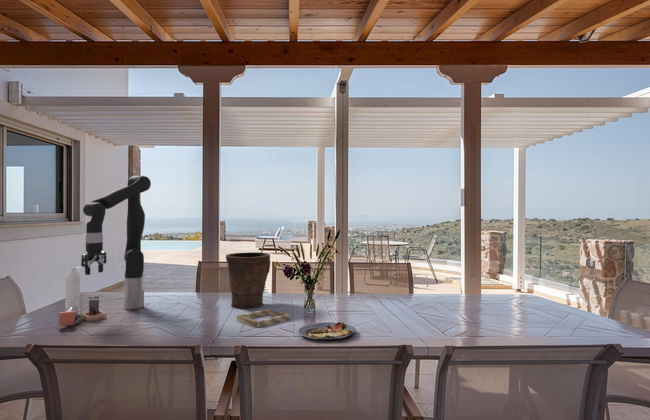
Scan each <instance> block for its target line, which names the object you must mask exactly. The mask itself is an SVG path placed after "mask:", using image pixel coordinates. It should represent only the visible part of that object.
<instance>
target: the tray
mask: <svg viewBox="0 0 650 420" xmlns="http://www.w3.org/2000/svg"><path fill="white" fill-rule="evenodd" d="M80 319H82V320H83V321H84V322H86V323H87V322H92V321H98V320H99V321H100V320H103V319H107V312H105V311H102V310H101V309H99V314H96V315H90V316H89V311H88V312H82V313H81V312H80Z"/></svg>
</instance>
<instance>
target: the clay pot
mask: <svg viewBox="0 0 650 420" xmlns="http://www.w3.org/2000/svg"><path fill="white" fill-rule="evenodd" d="M225 260H226V262H227V264H226V265H227V268H228V278H229V287H230V293H231V304H230V306H231V308H233V309H238V310H251V309H252V310H253V309H258V308H261V307H263V306H264V303H263V302H264V301H263V298H264V291H265V287H266V282H267V279H268V275H269V273H270V268H271V255H270V253H268V252H262V251H261V252H253V251H252V252H250V251H249V252H235V253H228V254H226V255H225Z"/></svg>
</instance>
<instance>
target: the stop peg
mask: <svg viewBox="0 0 650 420" xmlns="http://www.w3.org/2000/svg"><path fill="white" fill-rule="evenodd" d="M99 311H100V296H98V295H92V296H89V297H88V312H89V316H90V315H96V314H99Z"/></svg>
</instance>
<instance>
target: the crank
mask: <svg viewBox="0 0 650 420" xmlns="http://www.w3.org/2000/svg"><path fill="white" fill-rule="evenodd" d="M58 315H59V318H58V320H59V321H58V326H59V327H65V326H66V327H67V326H75V325H76V324H75V321H76V320H78V319H79V316H78V307H68V308H66V312H65V311H62V312H61V311H60V312H59V314H58Z"/></svg>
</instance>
